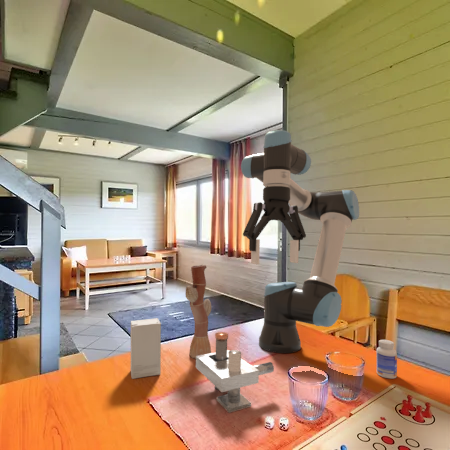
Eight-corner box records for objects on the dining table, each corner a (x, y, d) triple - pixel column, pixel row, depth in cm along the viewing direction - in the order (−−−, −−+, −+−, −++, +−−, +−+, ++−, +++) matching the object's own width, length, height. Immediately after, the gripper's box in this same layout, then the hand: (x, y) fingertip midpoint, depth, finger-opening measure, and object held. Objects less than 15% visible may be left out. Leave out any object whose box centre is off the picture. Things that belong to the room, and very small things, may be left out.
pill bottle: (399, 380, 88) (399, 345, 88) (379, 378, 89) (379, 343, 89) (393, 372, 93) (393, 339, 94) (374, 370, 94) (374, 337, 95)
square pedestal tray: (195, 386, 81) (196, 340, 82) (246, 374, 89) (247, 332, 90) (221, 415, 69) (222, 360, 69) (277, 398, 76) (278, 349, 77)
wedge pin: (211, 386, 82) (213, 333, 82) (222, 383, 83) (224, 331, 84) (217, 392, 79) (219, 336, 79) (229, 389, 80) (230, 335, 81)
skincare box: (157, 367, 93) (159, 317, 93) (160, 375, 87) (162, 322, 88) (128, 370, 90) (130, 319, 90) (129, 380, 84) (131, 325, 85)
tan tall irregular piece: (206, 349, 108) (209, 263, 109) (216, 356, 102) (218, 265, 103) (178, 354, 103) (181, 264, 104) (186, 362, 97) (189, 266, 98)
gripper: (246, 180, 77) (244, 265, 76) (319, 189, 89) (318, 263, 88) (231, 184, 84) (229, 262, 83) (300, 192, 96) (299, 261, 95)
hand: (275, 263), depth 86 cm, fingers open, 13 cm apart
